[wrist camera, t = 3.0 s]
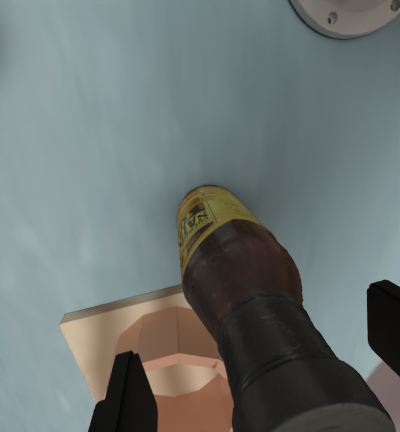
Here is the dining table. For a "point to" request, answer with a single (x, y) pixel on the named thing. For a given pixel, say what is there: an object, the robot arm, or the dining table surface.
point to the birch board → (108, 338)
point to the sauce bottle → (265, 325)
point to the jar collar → (184, 354)
